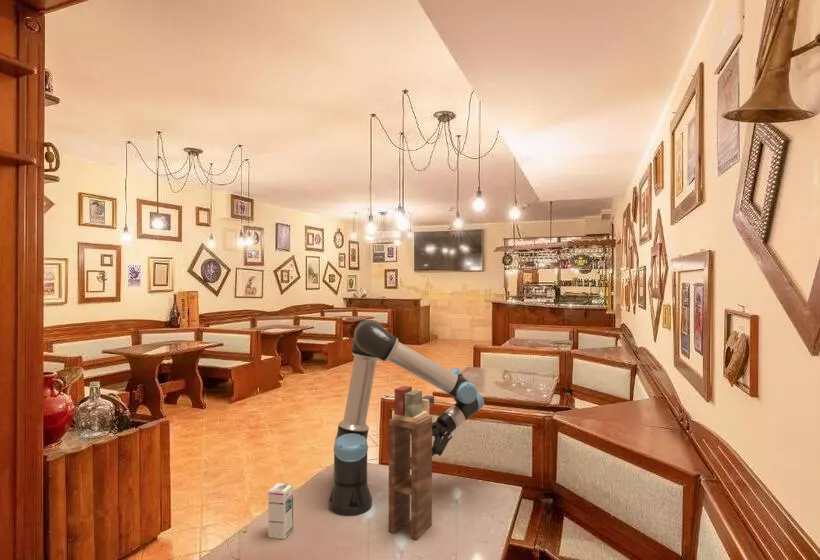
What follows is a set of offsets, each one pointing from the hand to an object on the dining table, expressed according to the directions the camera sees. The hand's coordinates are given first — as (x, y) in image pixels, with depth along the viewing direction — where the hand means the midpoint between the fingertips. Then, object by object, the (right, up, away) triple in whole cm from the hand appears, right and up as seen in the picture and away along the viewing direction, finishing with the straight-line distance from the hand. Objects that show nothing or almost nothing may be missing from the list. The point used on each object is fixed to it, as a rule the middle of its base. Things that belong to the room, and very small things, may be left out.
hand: (407, 454), depth 172 cm
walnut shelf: (+1, -15, -22) cm, 27 cm away
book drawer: (+3, +20, -18) cm, 27 cm away
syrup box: (-39, -15, -26) cm, 49 cm away
